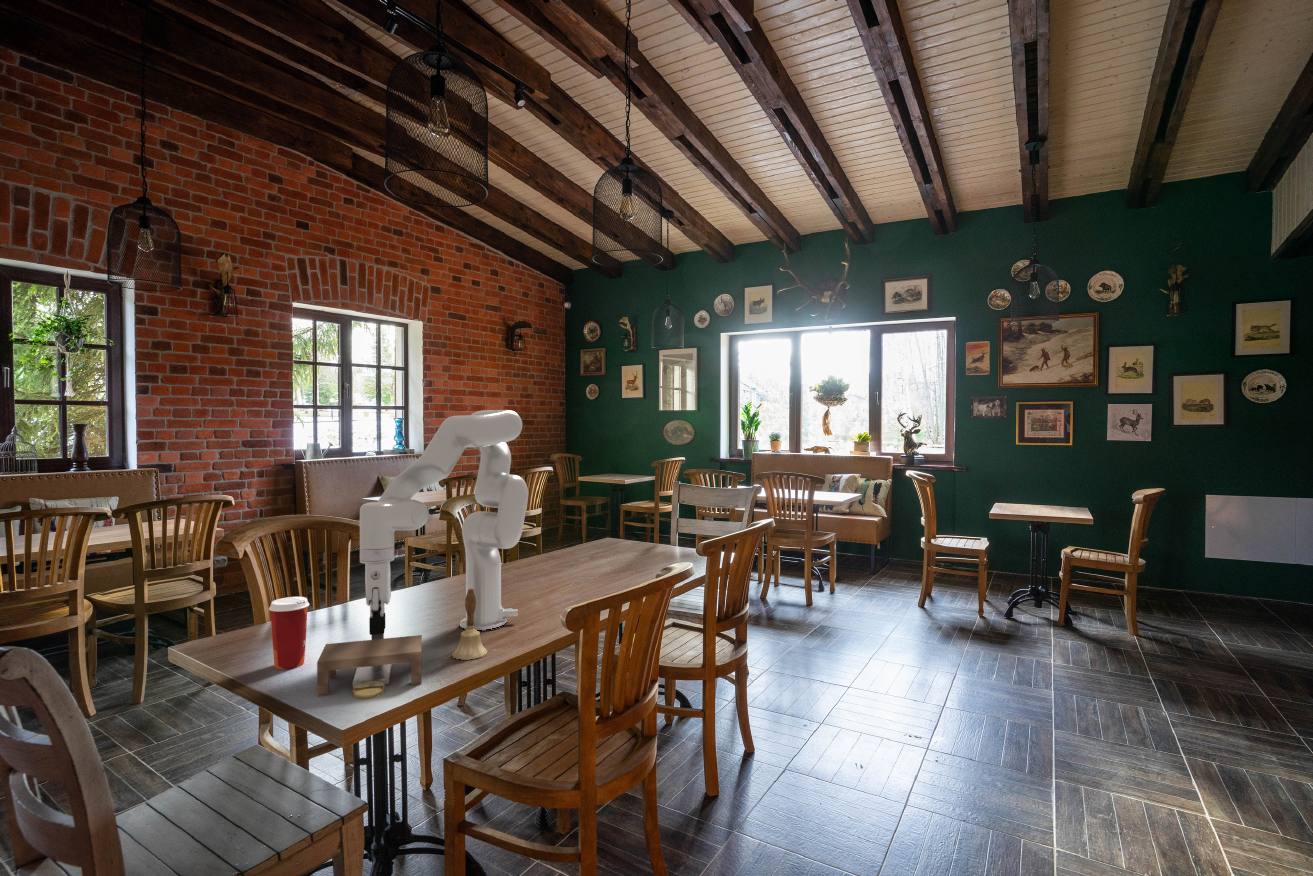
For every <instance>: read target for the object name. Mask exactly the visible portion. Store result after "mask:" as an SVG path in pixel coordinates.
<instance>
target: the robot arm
mask: <svg viewBox="0 0 1313 876" xmlns="http://www.w3.org/2000/svg"><path fill="white" fill-rule="evenodd" d="M522 429H523V420H522V418H521V416H520V415H519V414H518V412H516V411H514V410H510V409H496V410H495V409H486V410H485V409H484V410H478V411H475V412H473V413H471V414H470V415H453V416H452V415H451V416H449V417H447V418H446V419H444V420H443V422H441V424H440V425H439V427H438V429H437V431H436V432H435V434H433V437H432V439H431V440H430V442H429V443H428V444H427V447H426V448H425V449H424V451H422V454H421V455H420V457H419V458H418V459H417V460H416V461H414V462H413V463H411V464H409V466H408V467H406V468H405V469H404V470H403V471H401V473H399V474H398V475H397V476H396V477H394V478H393V479H392V481H391V482H390V483H389V484H388V485H387V487H386V488H385V490H384V491H383V492H382V494H381V496H380V497H379V499H378V500H377V501H374V502H373V501H371V502H367V503H363V504H362V505H361V506H360V508H359V563H360V564H363V565H364V566H365V569H364V570H365V572H364V574H365V575H364V577H365V579H364V581H365V582H364V583H365V585H364V586H365V601H366V603H365V604H366V605H367V606H368V607H369V612H370V613H369V619H368V620H369V621H368V623H369V632H368V633H369V635H370V636H372V635H376V634H383V633H384V634H385V630H386V612H384V616H383V603H384V604H385V606H386V605H389V604H390V600H391V597H392V590H391V589H392V588H391V586H392V585H391V583H392V582H391V581H392V580H391V579H392V578H391V575H392V574H391V562H393V561H395V532H397V531H416V530H419V529H421V528H422V527H423V526H425V525H426V524H427V522H428V520H429V516H430V511H429V508H428V507H427V505H426V504H425V503H423V502H422V501H419V500H417V499H412V498H413V497H414V496H415V495H416V494H417V493H419V491H421V490H422V489H425V488H427V487H428V486H431V485H433V484H435V483H437V482H441V481H443V480H444V479H446V478H447V477H449V476H450V474H451V473H452V471H453V469H454V468H455V466H456V464H457V463H458V462H459V459H460V458H461V456H462V454H463V453H464V451H465V449H467V448H479V452H480V461H479V466H478V472H477V476H476V477H477V478H476V483H475V488H474V498H475V501H476V502H477V504H479V505H481V506H482V507H487V508H497V512H496V511H495V512H493V511H484V510H482V511H480V510H479V511H475V512H472V513H469V514H468V515H467V516H466V518H465V519H464V521H463V523H462V527H461V535H462V541H463V544H464V545H463V546H464V550H465V596H466V595H467V592H468V589H474V593H475V596H476V608H475V612H474V629H475V630H482V631H487V630H486V629H491V630H493V629H492V628H496V627H499V626H502V625H504V624H505V623H506V622H507V619H508V618H507V617H518V616H519V610H518V608H515V609H514V608H509V607H508V608H504V607H503V606H502V561H501V559H502V557H501V555H500V551H499V549H501V550H507V549H512V548H514V547H515V546H516V545H517V544H518V543H519V541H520V539H521V537H522V533H523V530H524V523H525V518H526V511H527V507H528V501H529V488H528V486H527V483H526V481H525V480H524V478H522V477H521V476H520V475H517V474H510V471H511V465H512V454H511V450H510V448H509V445H508V444H507V443H508V442H511V441H513V440H515V439H517V438H518V437H519V436H520V434H521V432H522ZM380 601H381V603H379V602H380ZM372 602H373V604H372ZM379 607H380V608H379ZM384 611H385V607H384ZM506 624H507V623H506ZM506 624H505V625H506ZM505 625H504V626H505ZM459 626H460V628H461V629H463V628H464V630H466V629H467V612H466V611H465V617H464V618H463V619H461V620H460V622H459ZM502 627H503V626H502ZM499 628H500V627H499ZM496 629H497V628H496Z"/></svg>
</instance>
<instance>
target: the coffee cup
mask: <svg viewBox="0 0 1313 876" xmlns="http://www.w3.org/2000/svg"><path fill="white" fill-rule="evenodd" d="M309 606H310V603H309V601H308V598H307V597H306V596H305V597H304V596H289V597H282V598H277V599H275V600H272V601H271V603H270V606H269V607H268V611H270V622H271V623H270V625H271V636H272V637H271V638H272V652H273V664H274V668H275V670H278V671H279V670H282V671H283V670H284V671H285V670H291V669H297V668H299V667H302V666H303V665H304V664H305V657H306V656H305V655H306V640H307V627H308V625H307V624H308V611H309V609H308V608H309Z"/></svg>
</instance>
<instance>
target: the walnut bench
mask: <svg viewBox="0 0 1313 876" xmlns="http://www.w3.org/2000/svg"><path fill="white" fill-rule="evenodd" d="M405 663H410V664H411V665H410V674H411V678H410V679H411V681H410V682H411V683H410V684H411V686H415V685H422V669H423V668H422V667H423V635H422V634H420V635H419V634H418V635H409V636H408V635H407V636H398V637H397V636H396V637H388V638H387V637H386V638H385V637H384V639H374V640H372V639H364V640H356V641H355V640H354V641H345V642H336V643H335V642H334V643H326V644H325V646H324V647H323V649H322V652H321V653H320V656H319V658H318V660H317V661H316V685H317V686H316V687H317V688H316V689H317V690H316V691H317V693H316V696H317V697H323V696H329V694H330V688H331V687H330V685H331V684H330V682H331V681H330V679H334V678H336V676H337V671H338V670H348V669H357V668H359V667H368V666H378V665H387V664H392V665H395V664H405Z"/></svg>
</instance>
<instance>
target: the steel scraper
mask: <svg viewBox="0 0 1313 876" xmlns="http://www.w3.org/2000/svg"><path fill="white" fill-rule="evenodd" d="M379 603H381V601H380V602H379ZM372 604H373V602H372ZM379 608H380V607H379ZM384 608H385V603H383V616H384V613H385V610H384ZM374 639H385V632H384V633H383V634H376V635H371V640H374ZM392 667H393V664H387V665H378V666H368V667H359V668H356V670H355V674H354V677H353V680H352V688H353V687H354V686H356V685H358V684H360V683H364V682H369V681H380V682H383V683H384V685H389V683H390V677H391V673H392Z"/></svg>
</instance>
